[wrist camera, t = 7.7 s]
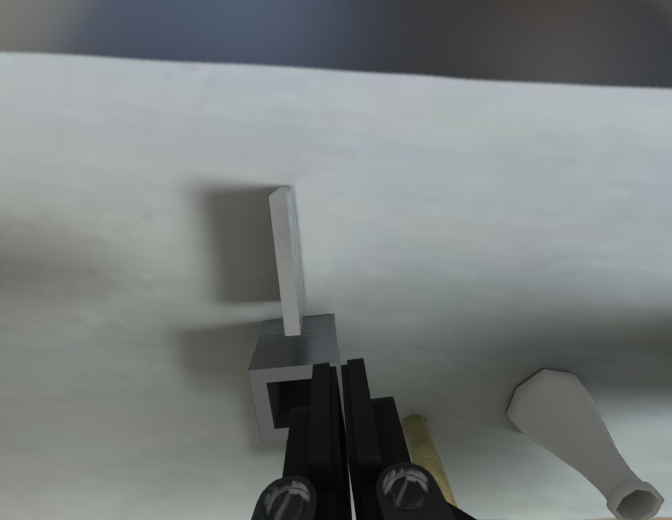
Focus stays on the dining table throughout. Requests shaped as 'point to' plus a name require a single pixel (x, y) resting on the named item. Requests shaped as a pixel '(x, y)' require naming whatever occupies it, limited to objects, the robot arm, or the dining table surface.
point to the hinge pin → (426, 453)
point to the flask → (580, 440)
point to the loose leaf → (288, 258)
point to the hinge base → (289, 371)
